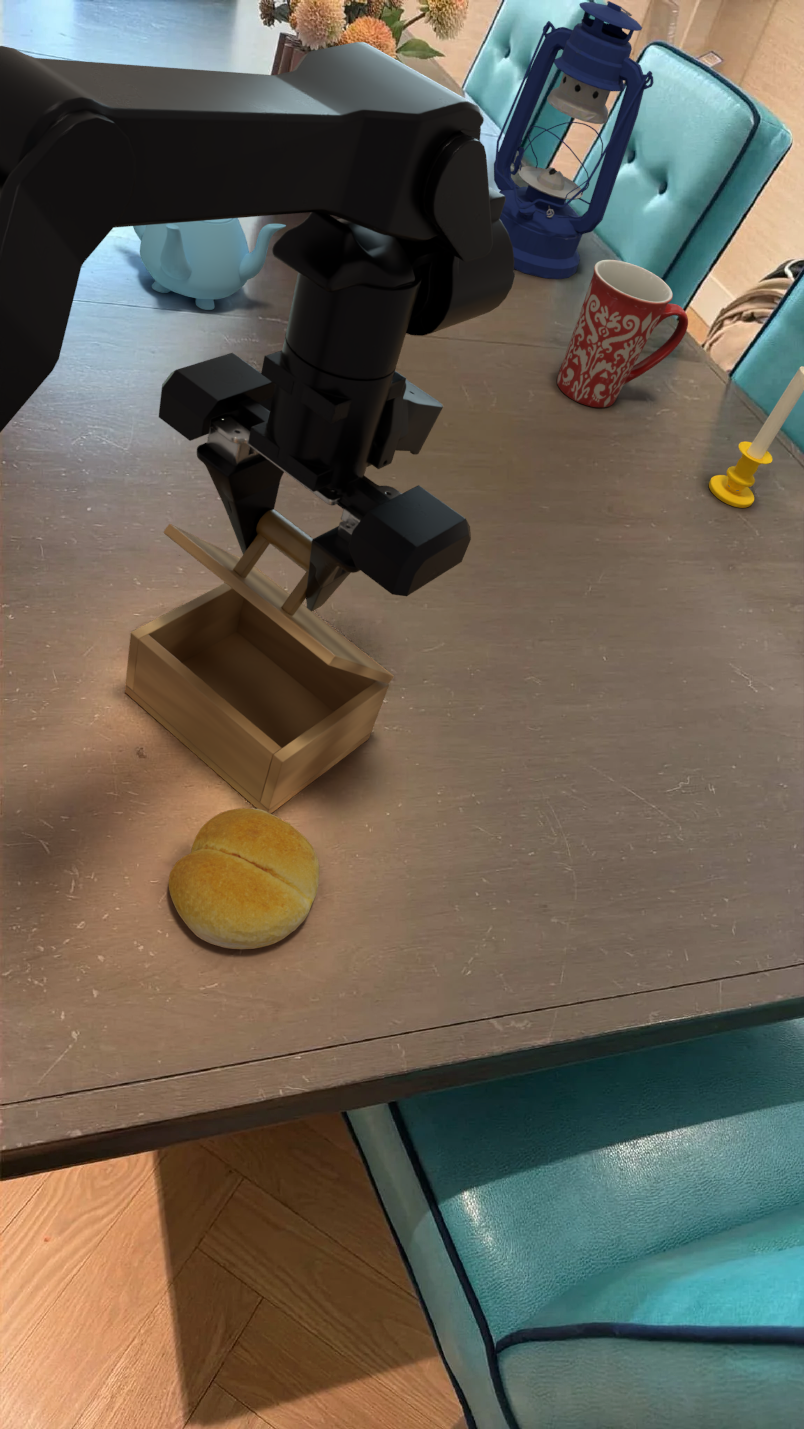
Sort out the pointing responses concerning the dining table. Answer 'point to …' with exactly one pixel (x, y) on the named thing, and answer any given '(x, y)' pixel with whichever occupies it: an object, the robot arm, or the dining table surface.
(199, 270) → the teapot
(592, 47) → the lantern
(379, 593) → the dining table surface
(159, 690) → the storage box
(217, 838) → the bread roll
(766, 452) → the candle
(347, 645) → the box door
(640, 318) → the mug
